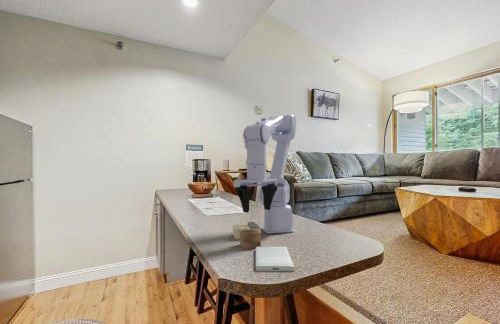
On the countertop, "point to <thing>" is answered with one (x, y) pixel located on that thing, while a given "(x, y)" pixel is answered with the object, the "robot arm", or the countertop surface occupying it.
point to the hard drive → (273, 259)
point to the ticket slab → (244, 227)
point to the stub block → (250, 239)
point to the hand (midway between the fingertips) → (256, 210)
